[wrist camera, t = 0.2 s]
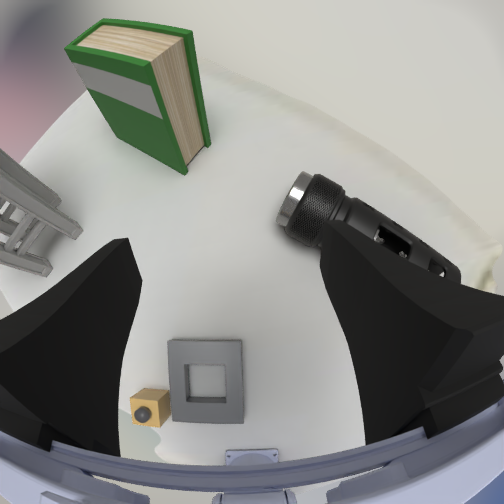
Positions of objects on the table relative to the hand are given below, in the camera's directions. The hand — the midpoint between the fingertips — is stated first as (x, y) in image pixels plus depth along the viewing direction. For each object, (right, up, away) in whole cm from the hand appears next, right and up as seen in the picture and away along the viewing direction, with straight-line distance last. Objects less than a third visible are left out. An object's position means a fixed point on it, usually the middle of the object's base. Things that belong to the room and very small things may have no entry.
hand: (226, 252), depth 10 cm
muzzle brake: (+18, 0, +33) cm, 37 cm away
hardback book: (-16, +20, +36) cm, 44 cm away
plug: (-13, -22, +26) cm, 37 cm away
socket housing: (-5, -18, +27) cm, 34 cm away
